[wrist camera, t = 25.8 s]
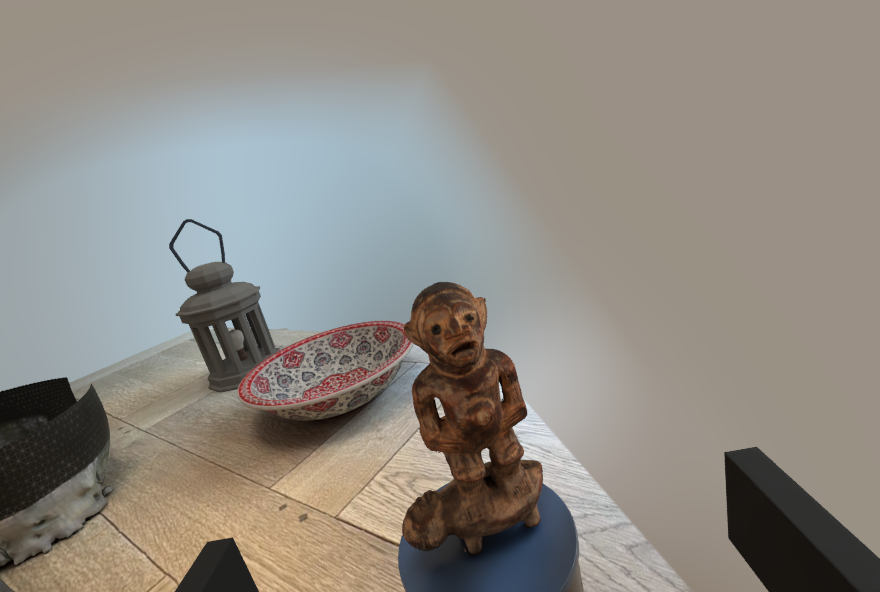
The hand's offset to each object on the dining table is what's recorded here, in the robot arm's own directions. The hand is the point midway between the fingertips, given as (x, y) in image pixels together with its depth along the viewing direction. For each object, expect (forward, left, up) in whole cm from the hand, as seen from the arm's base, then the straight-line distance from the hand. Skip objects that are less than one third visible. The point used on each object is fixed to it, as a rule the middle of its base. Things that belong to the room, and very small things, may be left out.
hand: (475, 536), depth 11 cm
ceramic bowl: (+44, -39, -23) cm, 63 cm away
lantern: (+78, -47, -23) cm, 94 cm away
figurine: (+5, -9, -11) cm, 15 cm away
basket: (+78, -6, -23) cm, 82 cm away
